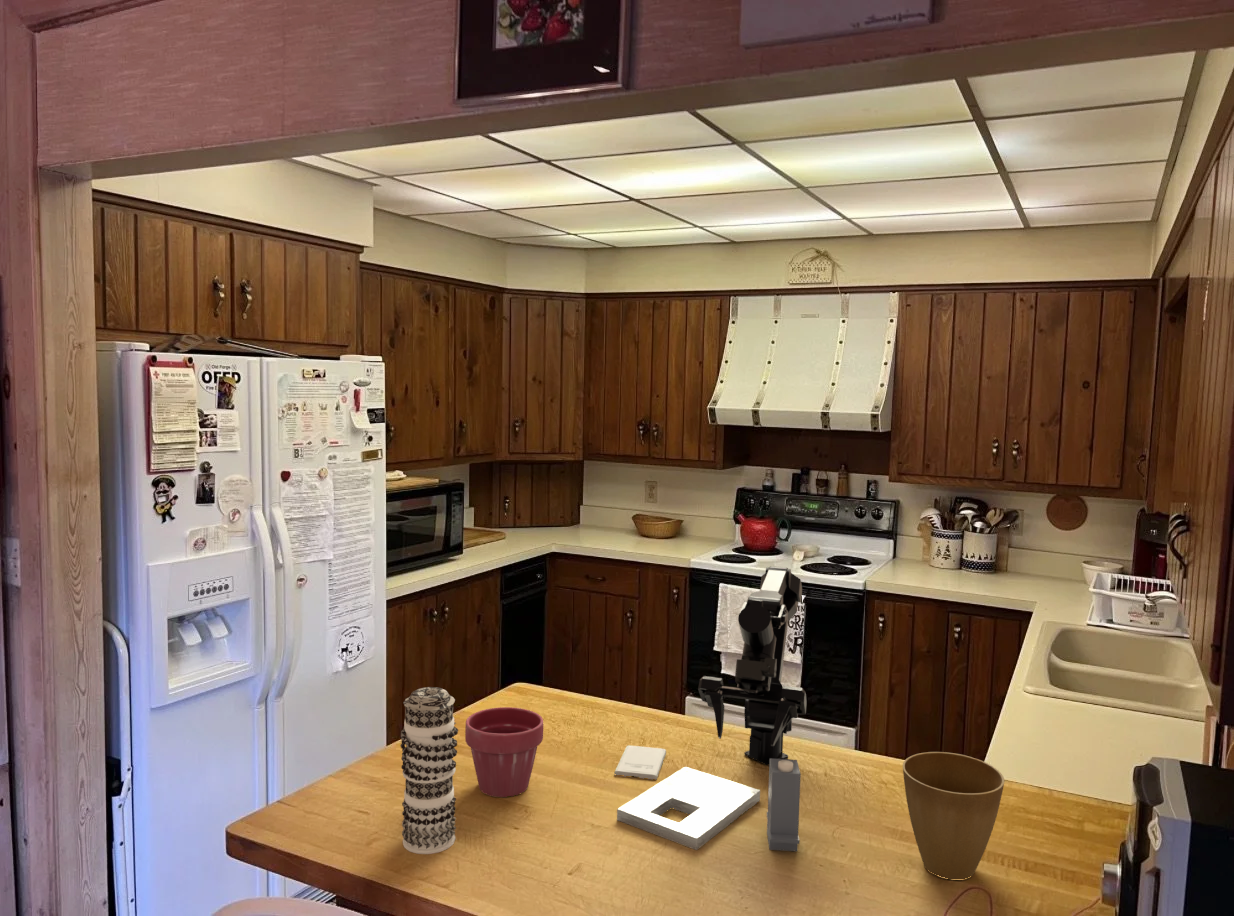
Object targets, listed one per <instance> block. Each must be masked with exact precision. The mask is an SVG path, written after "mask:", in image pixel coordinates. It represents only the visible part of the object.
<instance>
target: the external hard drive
mask: <svg viewBox="0 0 1234 916" xmlns="http://www.w3.org/2000/svg"><path fill="white" fill-rule="evenodd" d="M623 751H624V752H623V753H622V755H621V757H620V760H619V761H618V764H617V766H616V768H615V771H614V775H615V774H616V775H624V776H623V777H626V776H634V777H633V778H638V777H639V778H638V779H644V778H648V779H647V780H653V779H655V780H658V776H659V774H660V772H659V771H661V768H662V765H663V764H664V761H663V760H665V758H666V756H667V750H666V749H665V748H660V747H649V746H639V745H629V744H628V745H626V747H625V749H624V750H623ZM616 775H615V776H616Z"/></svg>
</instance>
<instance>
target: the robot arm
mask: <svg viewBox="0 0 1234 916" xmlns="http://www.w3.org/2000/svg"><path fill="white" fill-rule="evenodd" d="M760 580H761V581H760V586H759V591H755V592H751V594H749V595H748V597H747V599H746V601H744V602H743V604H742V607H741V609H740V611H739V613H738V617H737V618H738V619H737V620H738V625H739V629H740V634H741V638H742V641H743V649H742V653H741V658H737V659H736V660H735V661H736V662H735V664H736V665H735V672H734V673H735V674H734V679H735V680H734V681H735V684H737V685H736V686H733V685H732V686H730V685H725V684H724V680H723V678H722V677H715V676H706V675H703V676H702V677H701V678H700V679H699V683H698V687H697V690H698V693H699V696H700V700H701V701H702V702H704V703H706V704H707V706H708V707H710V708H713V709H712V710H713V712H714V718H715V725H716V731H717V732H716V733H717V737H718V739H722V736H723V733H724V732H723V731H724V730H723V729H724V717H725V704H724V701H725V698H730V699H731V698H733V699H740V700H745V702H744V709H743V710H744V711H743V713H744V728H745V729H750V735H749V744H748V745H749V747H748V748H749V750H747V751H743V752H744V754H743V755H745V756H746V757H748V758H750V759H752V760H755V761H757V762H759V763H761V764H763V765H766V766H769V762H770V758H772V759H788V758H789V755H788V754H787V753H785V752H784V751H783V747H784V734H785V735H786V734H787V733H789V732H792V729H793V728H792V727H793V719H797V718H798V716H803V715H806V713H807V694H806V691H805V689H804V688H803V687H796V686H788V685H783V684H782V674H783V667H784V666H783V665H784V659H785V650H786V642H787V633H788V626H789V622H790V620H791V619H792V618H793V617H794V616H795V615H796V614H797V612H798V607H799V603H801V602H802V598H803V596H802V595H803V587H802V585H803V584H802V580H801V579H800V578H799V577H798V576H796V575H795V574H793V573H792V570H791V568H788V567H786V566H774V565H773V566H772V565H770V566H767V567H766V568H765V573H763V574H762V575H761V579H760Z"/></svg>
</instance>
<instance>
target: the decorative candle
mask: <svg viewBox="0 0 1234 916" xmlns="http://www.w3.org/2000/svg"><path fill="white" fill-rule="evenodd" d="M455 701H456V699H455V698H454V697H453V696H452V695H450V694H449V692H448V691H447V690H446V689H443V688H441V687H436V686H435V687H433V686H427V687H421V688H418V689H416V690H413V691H412V692H411V694H410V695H409V697H407V698H405V700H404V701H403V705H404V707H405V710H404V711H405V718H404V720H403V721H404V723H403V724H404V726H403V729H402V730H401V731H400V739H401V743H400V745H399V746H400V748H401V749H402V750H401V752H402V753H401V761H402V765H401V769H402V776H403V779H404V780H405V789H404V793H403V794H404V795H403V796H404V797H403V801H402V803H401V804H402V807H403V811H402V813H401V814H402V816H403V820H402V822H401V826H402V828H403V830H402V832H401V835H402V837H403V839H402V845H403V848H404V849H405V850H407V851H408V852H410V853H414V854H417V855H432V854H438V853H442V852H443V851H446V850H448V849H449V848H451V847H452V846H453V845H454V843H455V841H456V835H455V834H456V831H455V830H456V829H457V827H456V821H457V817H455V814H456V809H457V808H456V807H455V805H456V800H457V798H456V797H455V787H454V785H453V784H454V781H453V780H454V778H453V776H454V775H455V773H456V770H457V769H456V767H457V762H456V761H455V760H454V759H453V758H454V757H456V756H457V754H458V750H457V749H456V747H457V746H458V740H457V739H455V738H454V736H457V735H458V732H459V729H458V728H457V727H456V726H455V725H456V724H457V722H455V717H454V703H455Z"/></svg>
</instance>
